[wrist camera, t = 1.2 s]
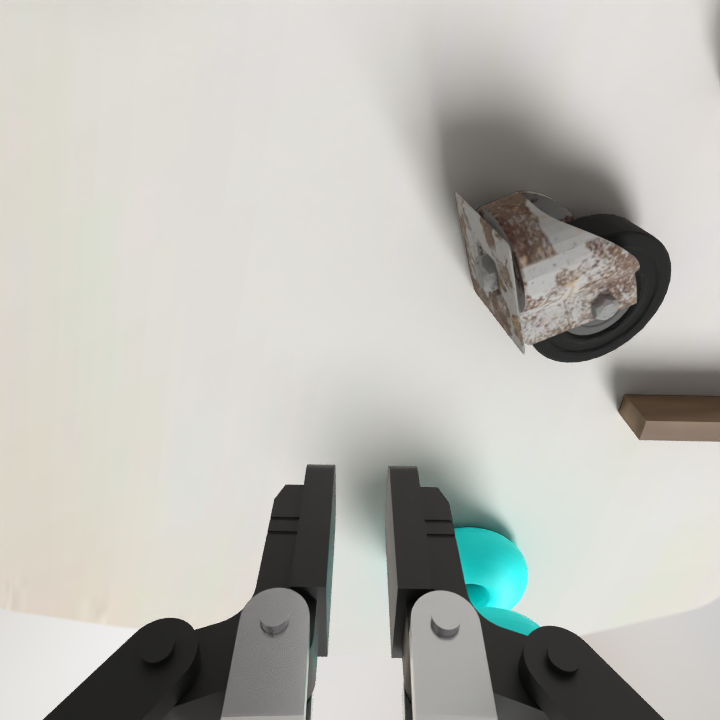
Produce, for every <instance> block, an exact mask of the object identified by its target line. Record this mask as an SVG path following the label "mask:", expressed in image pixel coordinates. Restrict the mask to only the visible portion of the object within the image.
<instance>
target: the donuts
mask: <svg viewBox="0 0 720 720" xmlns="http://www.w3.org/2000/svg"><path fill="white" fill-rule="evenodd" d="M454 531H455V538H456V541H457V546H458V551H459V556H460V561H461V565H462V570H463V575H464V580H465V584H467V585H466V590H467V594H468V597H469V599H470V601H471V603H472V604H473V606H474V607H475V609H476V610H477V611H478V612H479V613H480V614H481V615H482V616H483V617H484V618H486V619H487V620H489V621H490V622H492V623H494V624H496V625H498V626H500V627H503V628H506V629H509V630H512V631H515V632H518V633H521V634H524V635H527V636H528V635H529V634H530V633H531V632H532V631H533V630H535V629H537V628H539V627H540V626H539V625H537V624H536V623H535V622H533V621H532V620H530V619H529V618H527V617H526V616H524V615H521V614H519V613H516V612H513V611H510V610H511V609H512V608H513V607H514V606H515V605H516V604H517V603H518V602H519V600H520V599H521V597H522V595H523V593H524V591H525V589H526V585H527V580H528V572H527V565H526V562H525V559H524V557H523V555H522V554H521V552H520V551H519V549H518V548H517V547H516V546H515V545H514V544H513V543H512V542H511V541H510V540H508V539H507V538H506V537H504V536H502V535H500V534H498V533H496V532H493V531H490V530H486V529H482V528H475V527H462V528H454Z"/></svg>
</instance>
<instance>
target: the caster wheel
mask: <svg viewBox="0 0 720 720" xmlns="http://www.w3.org/2000/svg"><path fill="white" fill-rule="evenodd" d="M455 198H456V203H457V208H458V213H459V218H460V223H461V227H462V232H463V237H464V242H465V247H466V251H467V256H468V261H469V266H470V271H471V276H472V280H473V285H474V289H475V292H476V293H477V295H478V296H479V297H480V299H481V300H482V301H483V303H484V304H485V305H486V306H487V308H488V309H489V310H490V312H491V313H492V314H493V316H494V317H495V318H496V319H497V321H498V322H499V323H500V325H501V326H502V327H503V329H504V330H505V331H506V333H507V334H508V335H509V336H510V338H511V339H512V340H513V342H514V343H515V344H516V346H517V347H518V348H519V349H520V351H521V352H522V353H523V354H524V353H525V347H524V343H526V344H527V345H533V346H534V347H535V349H536V350H537V351H538V352H539V353H541V354H542V355H544V356H545V357H547V358H549V359H552V360H555V361H559V362H581V361H587V360H591V359H594V358H597V357H600V356H603V355H605V354H607V353H609V352H611V351H613V350H615V349H617V348H618V347H620V346H621V345H623V344H624V343H626V342H627V341H629V340H630V339H631V338H632V337H633V336H635V335H636V334H637V333H638V332H639V331H640V330H642V329H643V328H644V326H645V325H646V324H647V323H648V321H649V320H650V319H651V318H652V317H653V315H654V314H655V313H656V312H657V310H658V308H659V307H660V305H661V303H662V302H663V300H664V297H665V295H666V293H667V290H668V286H669V283H670V277H671V262H670V258H669V254H668V252H667V250H666V248H665V246H664V245H663V244H662V243H661V242H660V241H659V240H658V239H656V238H655V237H654V236H652V235H651V234H649V233H648V232H646V231H644V230H643V229H641V228H640V227H638V226H636V225H635V224H633V223H631V222H630V221H628V220H626V219H625V218H622V217H619V216H616V215H608V214H598V215H591V216H586V217H583V218H579V219H577V218H576V217H575V216H574V215H573V214H572V213H571V212H570V211H569V210H568V209H566V208H565V207H564V206H563V205H561V204H560V203H558V202H557V201H555V200H554V199H552V198H550V197H548V196H546V195H543V194H540V193H536V192H531V191H518V192H515V193H513V194H510V195H508V196H505V197H503V198H501V199H498V200H496V201H493V202H491V203H488V204H486V205H483V206H481V207H479V208H478V209H477V210H476V211H475V210H474V209H473V208H472V207H471V206H470V205H469V204H468V203H467V202H466V201H465V200H464V199H463V198H462V197H461V196H460V195H459V194H458V193H455Z"/></svg>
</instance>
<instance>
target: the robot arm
mask: <svg viewBox="0 0 720 720" xmlns="http://www.w3.org/2000/svg"><path fill="white" fill-rule="evenodd" d="M335 517H336V474H335V465H311V464H308V465H307V468H306V475H305V481H304V485H285V486H284V488H283V489H282V490H281V491H280V493H279V494H278V495H277V497H276V498H275V499H274V503H273V508H272V513H271V520H270V523H269V527H268V535H267V537H266V542H265V547H264V551H263V556H262V561H261V566H260V571H259V575H258V580H257V585H256V589H255V592H254V594H253V596H252V598H251V600H250V601H249V602H248V603H247V604H246V605H245V607H244V608H243V609H242V610H241V611H240V612H239V613H238V614H236V615H235V616H233V617H231V618H229V619H227V620H225V621H223V622H220V623H217V624H213V625H210V626H207V627H203V628H200V629H196V630H194V629H193V627H192V626H191V625H190V624H189V623H187V622H185V621H184V620H181V619H177V618H164V619H159V620H156V621H153V622H151V623H149V624H147V625H145V626H144V627H142V628H141V629H139V630H138V631H137V632H136V633H135V634H134V635H133V636H132V637H130V639H128V640H127V641H126V642H125V643H124V644H123V645H122V646H121V647H120V648H119V649H118V650H117V651H116V652H115V653H113V654H112V655H111V656H110V657H109V658H108V659H107V660H106V661H105V662H104V663H103V664H102V665H101V666H100V667H98V668H97V670H95V671H94V672H93V673H92V674H91V675H90V676H89V677H88V678H87V679H86V680H85V681H84V682H83V683H82V684H80V685H79V686H78V687H77V688H76V689H75V690H74V691H73V692H72V693H71V694H70V695H69V696H68V697H67V698H65V699H64V700H63V701H62V702H61V703H60V704H59V705H58V706H57V707H56V708H55V709H54V710H53V711H52V712H51V713H50V714H48V715H47V716H46V717H45V718H44V719H43V720H312V705H313V690H314V687H315V681H316V667H317V656H321V657H327V655H328V638H329V622H330V605H331V589H332V572H333V556H334V539H335ZM385 535H386V555H387V575H388V595H389V615H390V635H391V655H392V658H402V661H403V675H404V682H403V692H402V702H403V720H664V719H663V718H662V717H661V716H660V715H659V714H658V713H657V712H656V711H655V710H654V709H653V708H652V707H651V706H650V705H649V704H648V703H647V702H646V701H644V699H643V698H641V696H640V695H639V694H638V693H637V692H636V691H635V690H634V689H632V687H631V686H630V685H629V684H628V683H626V682H625V681H624V680H623V679H622V678H621V677H620V676H619V675H618V674H617V673H616V672H615V671H614V670H613V669H612V668H611V667H610V666H609V665H608V664H607V663H606V662H605V661H604V660H603V659H602V658H601V657H600V656H599V655H598V654H597V653H596V652H595V651H594V650H593V649H592V648H591V647H590V646H589V645H588V644H587V643H586V642H585V641H584V640H582V639H581V638H580V637H579V636H577V635H576V634H574V633H573V632H571V631H569V630H566V629H564V628H561V627H556V626H543V627H539V628H537V629H535V630H533V631H532V632H531V633H530V634H529V635H528V636H527V635H524V634H521V633H518V632H515V631H512V630H509V629H506V628H503V627H500V626H498V625H496V624H494V623H492V622H490V621H489V620H487V619H486V618H484V617H483V616H482V615H481V614H480V613H479V612H478V611H477V610H476V609H475V607H474V606H473V604H472V603H471V601H470V599H469V597H468V594H467V590H466V585H465V580H464V575H463V570H462V565H461V561H460V556H459V551H458V546H457V541H456V538H455V531H454V526H453V524H452V516H451V511H450V506H449V502H448V501H447V500H446V498H445V497H444V496H443V494H442V493H441V492H440V490H439V489H438V488H435V487H420V483H419V476H418V470H417V467H414V466H389V467H388V477H387V493H386V510H385Z"/></svg>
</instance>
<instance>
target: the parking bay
mask: <svg viewBox="0 0 720 720" xmlns="http://www.w3.org/2000/svg"><path fill="white" fill-rule="evenodd" d="M619 414H620V415H621V416H622V418H623V419H624V420H625V422H626V423H627V424H628V426H629V427H630V428H631V430H632V431H633V432H634V433H635V435H636V436H637V437H638V439H639V440H666V441H717V442H720V396H673V395H624V398H623V401H622V404H621V407H620V410H619Z"/></svg>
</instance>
